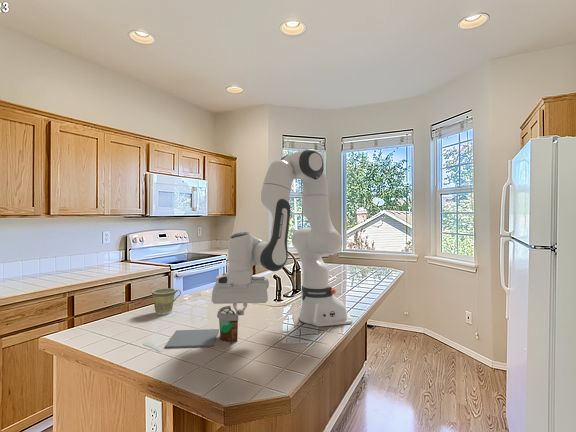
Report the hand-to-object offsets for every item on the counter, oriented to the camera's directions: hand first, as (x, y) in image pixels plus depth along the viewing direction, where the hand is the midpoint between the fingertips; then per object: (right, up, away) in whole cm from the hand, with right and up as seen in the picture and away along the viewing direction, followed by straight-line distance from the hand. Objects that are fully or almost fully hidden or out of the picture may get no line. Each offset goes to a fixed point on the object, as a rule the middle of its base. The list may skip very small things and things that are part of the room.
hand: (240, 315), depth 119 cm
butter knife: (-23, -9, -12) cm, 28 cm away
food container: (-5, -9, 0) cm, 10 cm away
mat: (-17, -8, -1) cm, 19 cm away
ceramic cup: (-38, -8, +30) cm, 49 cm away
